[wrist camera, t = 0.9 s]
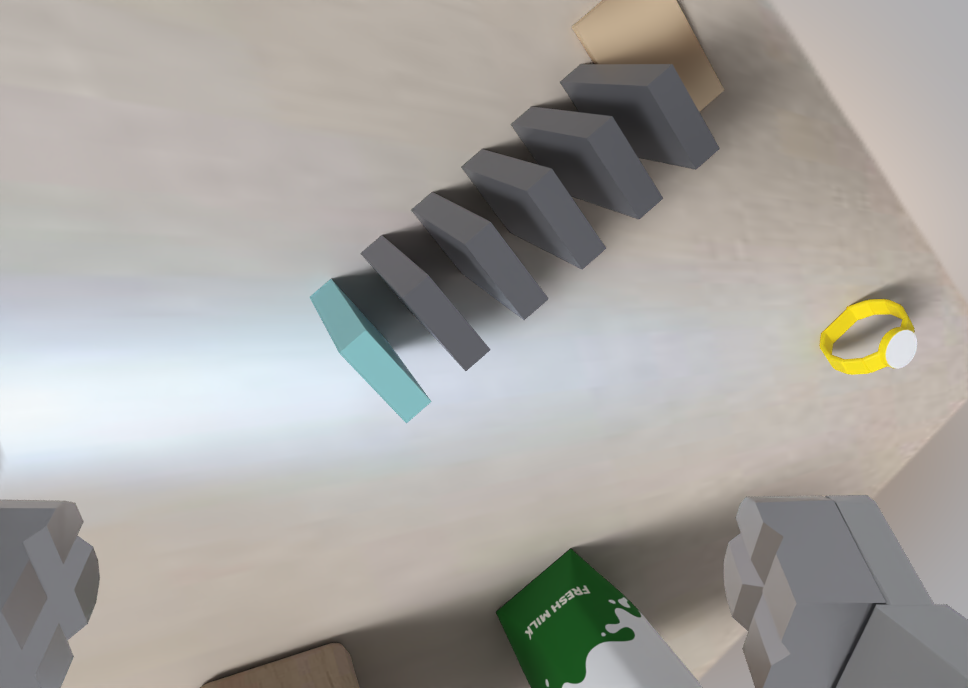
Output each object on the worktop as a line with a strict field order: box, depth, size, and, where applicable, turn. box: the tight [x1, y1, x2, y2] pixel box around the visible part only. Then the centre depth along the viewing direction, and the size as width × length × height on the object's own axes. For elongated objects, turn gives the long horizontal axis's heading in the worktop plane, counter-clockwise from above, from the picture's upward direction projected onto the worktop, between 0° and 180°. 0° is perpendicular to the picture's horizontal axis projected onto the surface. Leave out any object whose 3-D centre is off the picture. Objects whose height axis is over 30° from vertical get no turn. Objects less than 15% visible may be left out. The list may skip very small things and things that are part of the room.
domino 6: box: [560, 64, 720, 169], centre depth 44 cm, size 2×5×10 cm, turn 37°
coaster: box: [572, 0, 724, 112], centre depth 48 cm, size 9×6×1 cm, turn 37°
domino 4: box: [461, 149, 606, 269], centre depth 44 cm, size 2×5×10 cm, turn 38°
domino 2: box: [361, 235, 490, 371], centre depth 43 cm, size 2×5×10 cm, turn 37°
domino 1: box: [310, 279, 431, 423], centre depth 43 cm, size 2×5×10 cm, turn 37°
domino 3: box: [411, 192, 548, 320], centre depth 43 cm, size 2×5×10 cm, turn 37°
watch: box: [819, 299, 917, 375], centre depth 57 cm, size 6×3×6 cm, turn 130°
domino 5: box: [511, 106, 663, 219], centre depth 44 cm, size 2×5×10 cm, turn 37°
